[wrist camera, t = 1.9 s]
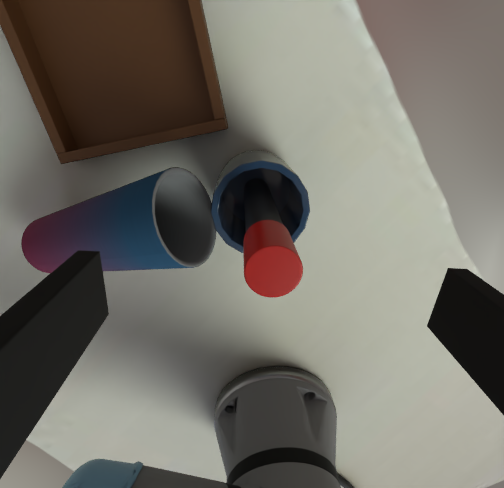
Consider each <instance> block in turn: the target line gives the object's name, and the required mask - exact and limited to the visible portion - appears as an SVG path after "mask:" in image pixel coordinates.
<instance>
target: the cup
mask: <svg viewBox="0 0 504 488" xmlns="http://www.w3.org/2000/svg"><path fill="white" fill-rule="evenodd" d="M211 207H212V203H211V200H210V197H209V195H208V193H207V191H206V189H205V188H204V186H203V185H202V183H201V182H200V181H199V179H198V178H197V177H196V176H195V175H193V174H192V173H191V172H190V171H188V170H186V169H183V168H179V167H174V168H169V169H167V170H164V171H161V172H159V173H156V174H154V175H151V176H148V177H146V178H143V179H141V180H138V181H135V182H133V183H130V184H128V185H125V186H122V187H120V188H117V189H115V190H112V191H109V192H107V193H104V194H102V195H99V196H96V197H94V198H91V199H89V200H86V201H84V202H81V203H78V204H76V205H73V206H71V207H68V208H65V209H63V210H60V211H58V212H55V213H52V214H50V215H47V216H45V217H42V218H39V219H37V220H35V221H33V222H32V223H30V224H29V225H28V227H27V228H26V229H25V231H24V233H23V236H22V244H21V245H22V251H23V253H24V256H25V258H26V259H27V261H28V262H29V263H30V264H31V265H32V266H33V267H35V268H36V269H38V270H40V271H42V272H46V273H52V272H53V271H54V270H55V269H57V268H58V267H59V266H60V265H61V264H62V263H64V262H65V261H66V260H67V259H68V258H70V257H71V256H72V255H73V254H74V253H75V252H77V251H78V250H82V251H100V257H101V264H102V271H122V270H146V269H171V268H194V267H197V266H200V265H201V264H203V263H204V262H205V261H206V260H207V259H208V258H209V256H210V254H211V253H212V250H213V247H214V244H215V239H216V229H215V226H214V222H213V218H212V214H211Z"/></svg>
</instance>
